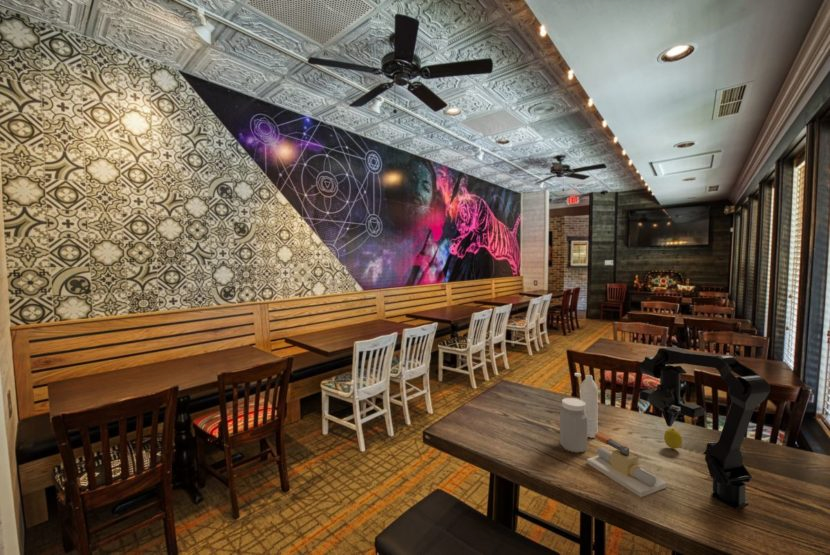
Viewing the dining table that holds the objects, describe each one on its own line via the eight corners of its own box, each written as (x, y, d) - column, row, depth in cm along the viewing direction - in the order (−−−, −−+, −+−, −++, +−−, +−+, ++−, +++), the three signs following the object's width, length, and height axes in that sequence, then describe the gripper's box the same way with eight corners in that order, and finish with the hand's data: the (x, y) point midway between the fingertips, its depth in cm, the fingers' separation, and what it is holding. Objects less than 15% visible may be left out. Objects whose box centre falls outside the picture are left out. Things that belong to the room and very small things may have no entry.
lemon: (685, 453, 131) (685, 432, 130) (668, 452, 132) (668, 431, 131) (677, 445, 136) (677, 425, 136) (661, 444, 137) (661, 424, 137)
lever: (631, 454, 118) (631, 448, 118) (625, 456, 117) (625, 450, 117) (600, 437, 129) (600, 432, 129) (594, 439, 128) (594, 433, 128)
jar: (555, 447, 137) (555, 402, 136) (565, 438, 144) (565, 394, 143) (582, 457, 130) (582, 409, 129) (591, 446, 137) (591, 401, 136)
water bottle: (598, 432, 148) (598, 373, 147) (597, 439, 142) (597, 378, 141) (575, 428, 152) (575, 371, 151) (573, 434, 146) (573, 375, 145)
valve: (666, 487, 112) (667, 465, 111) (640, 497, 107) (640, 474, 107) (611, 455, 130) (611, 437, 130) (586, 462, 126) (586, 443, 126)
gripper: (629, 378, 130) (628, 419, 131) (683, 395, 113) (682, 443, 113) (649, 374, 134) (649, 414, 135) (705, 390, 117) (704, 436, 118)
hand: (669, 426), depth 125 cm, fingers closed
